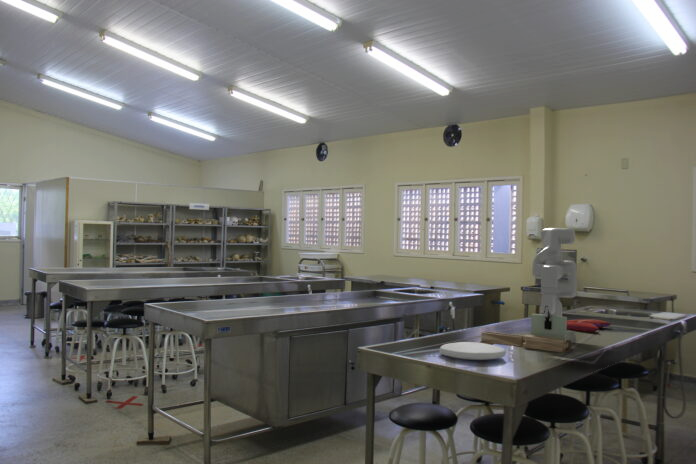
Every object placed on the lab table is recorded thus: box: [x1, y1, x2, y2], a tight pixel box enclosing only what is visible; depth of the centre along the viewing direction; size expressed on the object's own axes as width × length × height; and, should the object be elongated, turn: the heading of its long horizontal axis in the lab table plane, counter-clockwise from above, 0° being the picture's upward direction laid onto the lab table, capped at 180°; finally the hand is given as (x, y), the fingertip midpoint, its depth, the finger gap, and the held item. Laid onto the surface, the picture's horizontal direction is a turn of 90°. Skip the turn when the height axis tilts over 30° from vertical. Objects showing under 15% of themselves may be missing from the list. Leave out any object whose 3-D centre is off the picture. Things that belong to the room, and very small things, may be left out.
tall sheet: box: [530, 313, 568, 339], centre depth 257 cm, size 2×16×12 cm, turn 57°
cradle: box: [479, 331, 526, 347], centre depth 265 cm, size 10×20×5 cm, turn 57°
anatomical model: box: [567, 318, 612, 333], centre depth 326 cm, size 30×7×30 cm
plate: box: [439, 341, 507, 361], centre depth 234 cm, size 28×6×27 cm
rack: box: [522, 333, 573, 354], centre depth 254 cm, size 14×20×7 cm
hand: (548, 328), depth 257 cm, fingers closed on tall sheet, 2 cm apart
